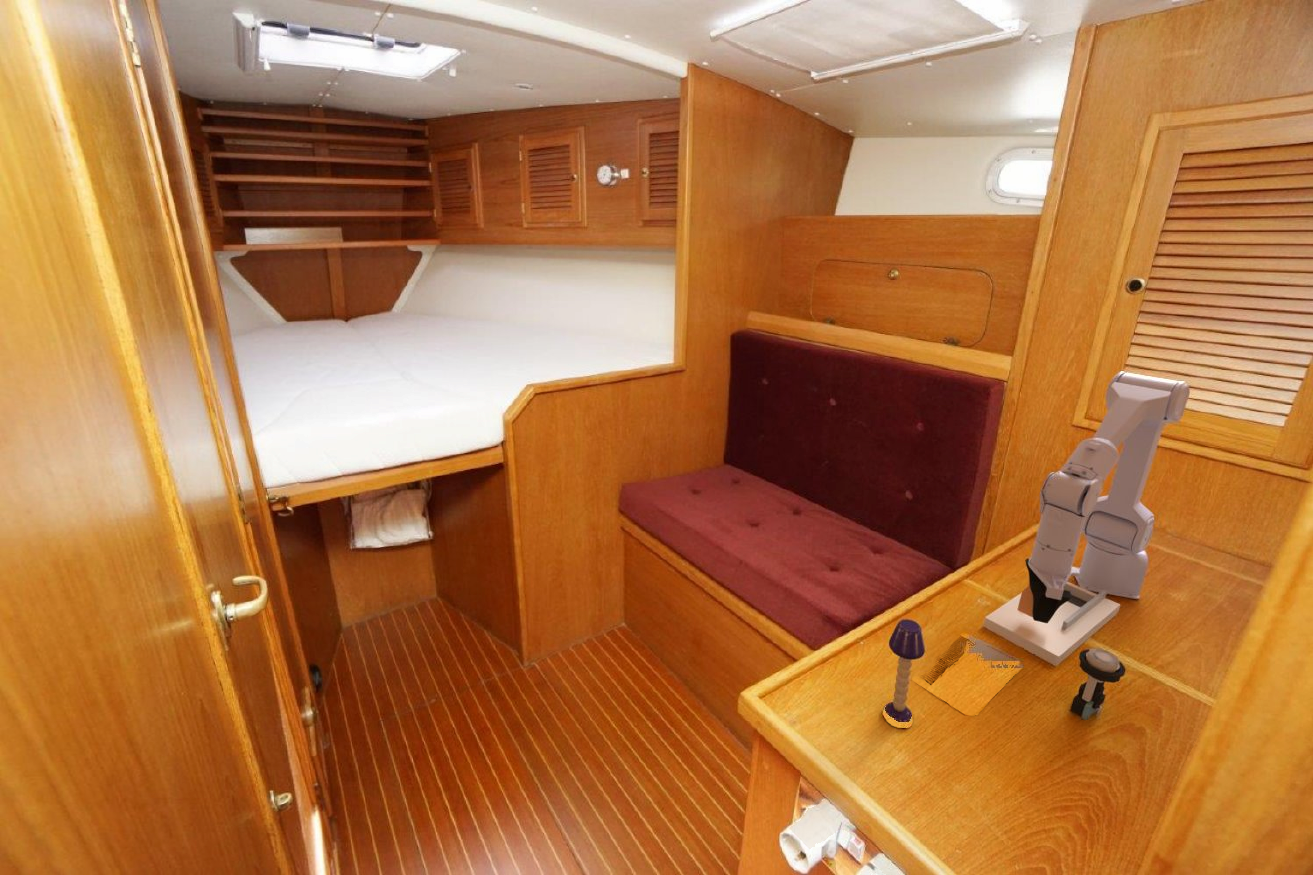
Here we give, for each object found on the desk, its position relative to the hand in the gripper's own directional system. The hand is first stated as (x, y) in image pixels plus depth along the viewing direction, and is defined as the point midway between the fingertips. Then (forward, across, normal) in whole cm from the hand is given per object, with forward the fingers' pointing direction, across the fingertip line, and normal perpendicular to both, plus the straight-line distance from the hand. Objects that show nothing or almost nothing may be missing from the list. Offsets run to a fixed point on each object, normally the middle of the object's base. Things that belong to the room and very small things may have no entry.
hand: (1038, 610), depth 99 cm
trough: (+5, +6, -4) cm, 9 cm away
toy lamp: (+5, -30, +20) cm, 36 cm away
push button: (+5, -15, -6) cm, 17 cm away
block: (0, 0, 0) cm, 1 cm away
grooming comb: (+6, -15, +10) cm, 19 cm away
